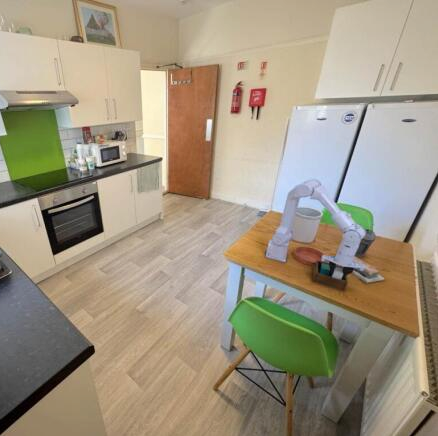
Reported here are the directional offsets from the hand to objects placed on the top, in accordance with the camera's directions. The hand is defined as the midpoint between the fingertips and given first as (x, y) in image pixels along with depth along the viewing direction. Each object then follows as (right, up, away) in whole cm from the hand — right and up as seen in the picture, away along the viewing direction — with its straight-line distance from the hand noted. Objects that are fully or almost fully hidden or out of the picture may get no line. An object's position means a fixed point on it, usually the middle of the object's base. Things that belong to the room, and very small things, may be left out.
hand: (335, 277), depth 107 cm
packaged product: (+18, +1, +10) cm, 20 cm away
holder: (0, -2, +4) cm, 5 cm away
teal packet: (-1, 0, +6) cm, 7 cm away
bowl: (0, +5, +18) cm, 19 cm away
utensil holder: (+8, +15, +37) cm, 41 cm away
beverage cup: (+27, +7, +20) cm, 34 cm away
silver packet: (0, -1, 0) cm, 1 cm away
